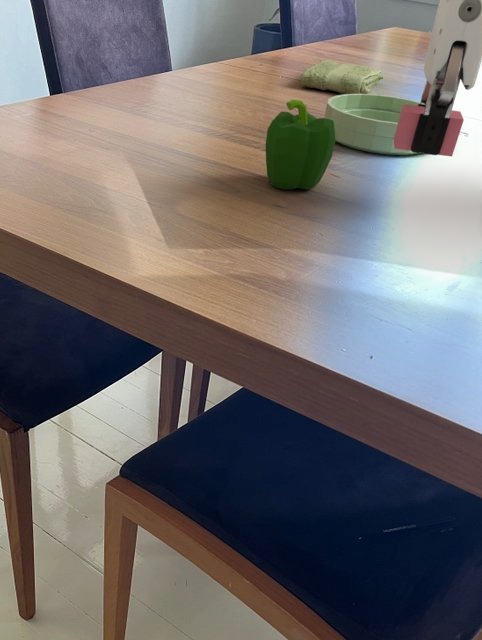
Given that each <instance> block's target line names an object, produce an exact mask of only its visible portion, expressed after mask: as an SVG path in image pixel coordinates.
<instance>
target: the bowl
mask: <svg viewBox="0 0 482 640" xmlns="http://www.w3.org/2000/svg"><path fill="white" fill-rule="evenodd" d="M420 102H421V101H417V100H413V99H409V98H403V97H398V96H393V95H392V96H391V95H384V94H376V93H375V94H373V93H370V94H369V93H364V94H338V95H334V96H332V97H329V98H328V99H327V102H326V108H325V113H324V117H323V118H326V119H330V120H333V121H334V127H335V136H336V143H339V144H341V145H342V146H345V147H349V148H352V149H355V150H359V151H363V152H367V153H374V154H381V155H389V156H390V155H391V156H408V155H409V156H410V155H418V154H419V153H416V152H412V151H408V150H401V149H395V148H394V136H395V132H396V129H397V125H398V121H399V117H400V114H401V110H402V106H403V104H407V105H415V106H418V104H421V103H420ZM424 105H425V104H424Z"/></svg>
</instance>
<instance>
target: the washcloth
mask: <svg viewBox="0 0 482 640" xmlns="http://www.w3.org/2000/svg"><path fill="white" fill-rule="evenodd" d="M383 79H384V73H383V72H382V71H381V70H380V69H376V68H373V67H369V66H368V67H367V66H363V65H361V64H359V65H357V64H353V63H338V62H336V61H334V60H331V59H326V60H320V61H319V62H317V63H315V64H314V65H312V66H309V67H307V68H306V69H304V71H303V72H302V74H301V76H300V85H301V86H303V87H305V88H310V89H316V90H321V91H331V92H335V93H338V94H340V95H343V94H369V92H370V91H372V89H373V88H374V86H376V84H378V83H379V82H380V81H381V80H383Z"/></svg>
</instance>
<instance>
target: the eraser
mask: <svg viewBox="0 0 482 640" xmlns="http://www.w3.org/2000/svg"><path fill="white" fill-rule="evenodd" d="M424 109H425V107H422V106H415V105H407V104H403V106H402V110H401V114H400V117H399V121H398V125H397V129H396V132H395V136H394V148H395V149H401V150H408V151H411V145H412V142H413V138H414V135H415V131H416V128H417V124H418V121H419V117H420V113H421V114H423V113H424ZM464 121H465V120H464V117H463V114H462V112H461V111H460V110H453V109H452V111H451V115H450V121H449V124H448V128H447V131H446V134H445V137H444V141H443V144H442V147H441V150H440V153H439V154H438V155H437V156H444V157H445V156H446V157H453V155H454V152H455V149H456V146H457V143H458V139H459V136H460V133H461V130H462V127H463V124H464Z"/></svg>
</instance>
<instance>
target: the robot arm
mask: <svg viewBox="0 0 482 640" xmlns="http://www.w3.org/2000/svg"><path fill="white" fill-rule="evenodd" d="M423 64H424V65H423V72H424V77H425V79H426V81H425V84H424V88H423V92H422V94H421V97H420V101H419V102H420V103H421V104H418V106H422V107H425V109H424V113H423V114H421V113H420V117H419V121H418V124H417V128H416V131H415V135H414V138H413V142H412V145H411V151H412V152H416V153H418V154H424V155H432V156H439V155H438V154H439V153H440V150H441V147H442V144H443V141H444V137H445V134H446V131H447V128H448V124H449V121H450V115H451V111H452V110H453V108H454V105H455V100H456V97H457V93H458V89H459V86H460V82H461V83H462V85H463V87H464V89H465V90H467V91H469V90H472V89H473V88H474V87H475V85H476V83H477V78H478V76H479V72H480V68H481V64H482V0H439V3H438V6H437V10H436V14H435V17H434V21H433V25H432V29H431V32H430V37H429V40H428V45H427V50H426V55H425V59H424V63H423ZM424 104H425V105H424Z"/></svg>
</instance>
